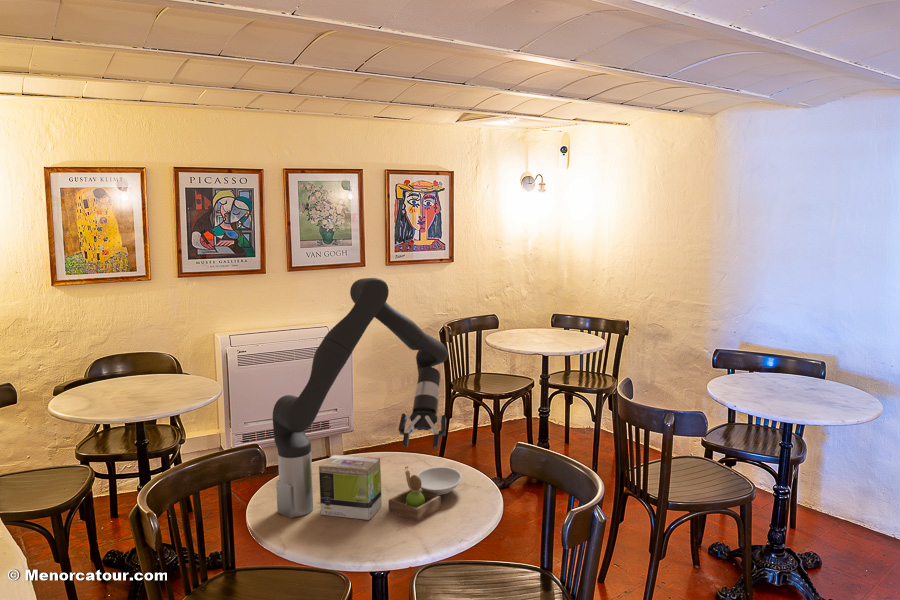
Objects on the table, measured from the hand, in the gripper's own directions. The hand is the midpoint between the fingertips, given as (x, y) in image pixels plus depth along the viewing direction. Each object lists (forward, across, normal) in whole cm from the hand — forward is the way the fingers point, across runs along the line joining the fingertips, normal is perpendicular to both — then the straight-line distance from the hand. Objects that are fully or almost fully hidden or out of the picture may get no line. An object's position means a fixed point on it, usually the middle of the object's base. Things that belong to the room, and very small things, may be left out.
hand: (420, 447), depth 189 cm
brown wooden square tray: (+17, 0, +4) cm, 18 cm away
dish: (+9, +5, +13) cm, 17 cm away
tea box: (+19, -18, +3) cm, 27 cm away
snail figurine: (+17, 0, +5) cm, 18 cm away
